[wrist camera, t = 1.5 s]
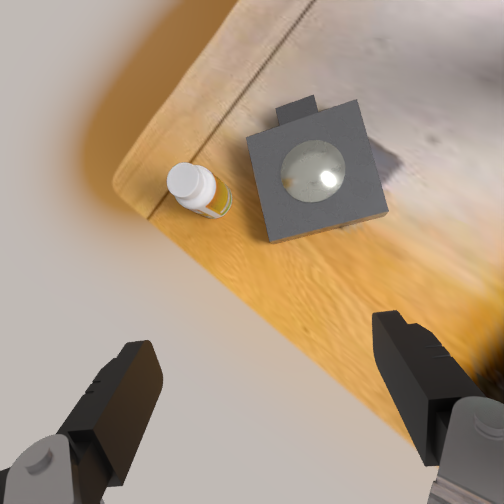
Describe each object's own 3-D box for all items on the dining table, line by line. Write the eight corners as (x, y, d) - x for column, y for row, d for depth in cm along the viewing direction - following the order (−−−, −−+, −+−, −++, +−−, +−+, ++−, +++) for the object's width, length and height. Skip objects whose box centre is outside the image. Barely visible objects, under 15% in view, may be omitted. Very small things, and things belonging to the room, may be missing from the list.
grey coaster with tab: (246, 128, 42) (239, 116, 38) (349, 92, 38) (350, 75, 35) (273, 244, 39) (268, 241, 36) (384, 216, 36) (389, 210, 33)
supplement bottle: (227, 176, 42) (197, 148, 32) (237, 211, 41) (210, 193, 32) (193, 189, 43) (155, 166, 34) (203, 224, 42) (167, 210, 33)
